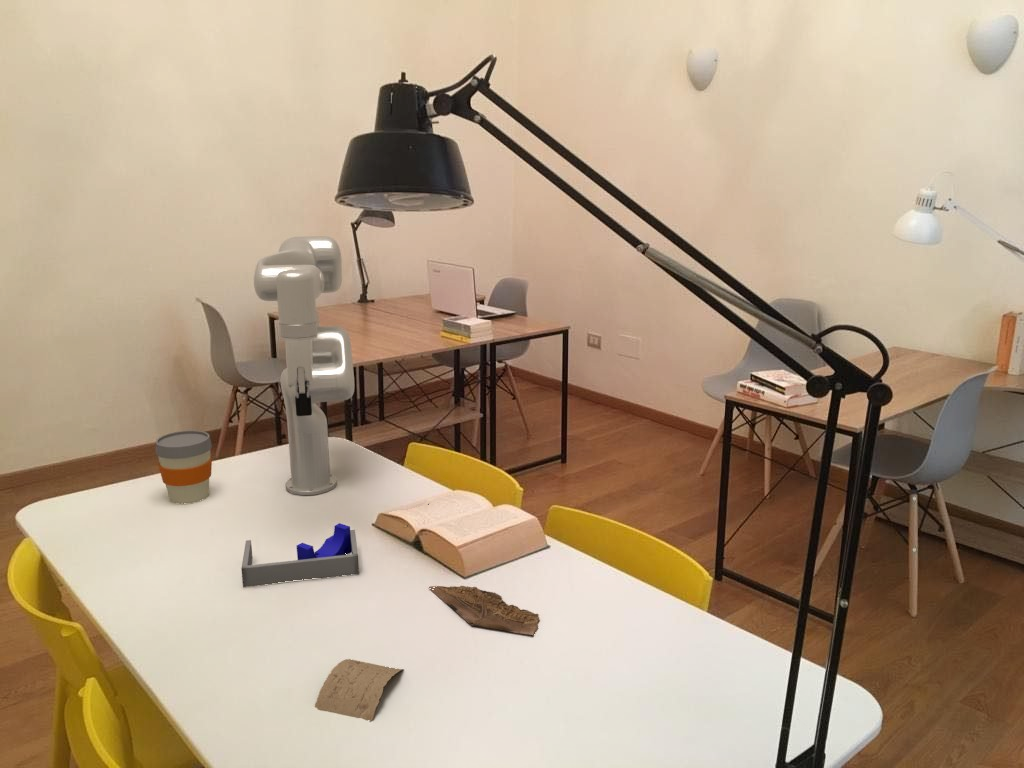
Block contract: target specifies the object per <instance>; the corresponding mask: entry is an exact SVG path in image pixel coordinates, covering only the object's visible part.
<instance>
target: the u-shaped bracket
mask: <svg viewBox="0 0 1024 768" xmlns="http://www.w3.org/2000/svg"><path fill="white" fill-rule="evenodd" d="M350 534H351V552H350V553H349V554H347V555H341V556H331V557H322V558H313V559H303V560H298V559H297V560H296V559H295V560H287V561H277V562H268V563H258V564H252V563H253V547H252V540H251V539H249V540H248V539H246V540H245V543H244V549H243V555H242V562H241V567H240V569H241V579H242V580H241V581H242V587H243V588H249V587H258V585H259V586H266V585H265V584H268V585H273V584H272V583H277V584H279V583H278V582H285V581H293V580H302V579H303V581H305V580H304V579H312V578H321V579H328V578H327V577H330V578H337V577H336V576H339V577H343V576H342V575H347V576H352V575H351V574H356V575H359V574H360V564H359V563H360V562H359V552H358V545H357V543H358V542H357V536H356V529H350ZM312 580H313V579H312Z"/></svg>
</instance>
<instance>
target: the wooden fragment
mask: <svg viewBox="0 0 1024 768" xmlns="http://www.w3.org/2000/svg"><path fill="white" fill-rule="evenodd" d="M436 586H437V587H436ZM428 587H429V588H431V589H429V588H428V589H429V591H431V590H432V589H434V590H432V591H431V593H433V594H434V595H436V596H437V597H438V598H439V599H440V600H441V601H443V602H444V603H445V604H447V605H448V606H449V607H451V608H452V610H454V611H455V612H456V613H457V614H458V615H460V617H461V618H462V619H464V620H465V621H466V622H467V623H468V624H469V625H470V626H471V627H476V626H477V627H482V628H488V629H493V630H499V631H504V632H505V631H506V632H511V633H515V634H519V635H520V634H521V635H523V634H524V635H530V636H531V635H532V637H535V635H536V633H537V632H538V630H539V628H538V627H539V623H540V617H539V613H534V612H532V611H530V610H528V609H521V608H520V607H519V606H517V605H514V604H510V605H509V604H507V602H506V601H504V600H502V596H501V595H500V594H498V593H496V592H493V591H487V590H482V589H480V588H478V587H477V586H473V587H471V586H468V585H467V586H465V585H460V586H454V585H453V586H452V585H451V586H443V585H431V586H428ZM433 587H435V588H433ZM535 632H536V633H535ZM534 634H535V635H534Z"/></svg>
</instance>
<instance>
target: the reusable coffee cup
mask: <svg viewBox="0 0 1024 768" xmlns="http://www.w3.org/2000/svg"><path fill="white" fill-rule="evenodd" d="M210 436H211V435H210V434H209V433H208V432H206V431H203V430H181V431H176V432H171V433H167V434H164V435H161V436H159V437H158V438H156V441H155V455H156V456H157V457H158V464H157V465H158V469H159V472H160V476H161V480H162V482H163V484H164V485H165V487H166V491H167V495H168V498H169V501H170V502H171V501H172V502H174V503H173V504H175V503H183V504H182V505H185V504H184V503H190V504H194V503H193V502H195V503H198V501H199V502H201V501H203V500H202V499H204V500H205V499H207V498H208V497H209V495H210V478H211V477H212V470H213V469H212V465H213V464H212V461H213V457H212V455H211V450H212V447H213V446H212V441H211V437H210ZM207 496H208V497H207ZM206 497H207V498H206ZM200 500H201V501H200ZM172 502H171V503H172Z"/></svg>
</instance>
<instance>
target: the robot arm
mask: <svg viewBox="0 0 1024 768" xmlns="http://www.w3.org/2000/svg"><path fill="white" fill-rule="evenodd" d="M342 261H343V260H342V254H341V249H340V246H339V244H338V242H337V240H335V238H333V237H331V236H327V235H326V236H325V235H324V236H293V237H289V238H287V239H285V240H284V241H283V242H281V244H280V246H279V249H278V252H276V253H273V254H269V255H267V256H264V257H262V258H260V259H259V260H258V261H257V263H256V266H255V270H254V275H253V287H254V290H255V291H254V292H255V294H256V295H257V297H258V298H259V299H260V300H261V301H265V302H277V310H278V311H277V312H278V313H277V314H278V323H279V324H278V326H279V338H280V339H281V340H283V341H284V344H285V346H284V347H285V361H286V368H284V369H283V370H282V372H281V375H280V379H279V381H280V388H281V393H282V397H283V400H284V407H285V414H286V425H287V435H288V436H287V437H288V453H289V464H290V478H288V479H287V481H286V482H285V486H284V487H285V489H286V491H287V492H289V493H291V494H293V495H300V496H313V495H320V494H323V493H327V492H329V491H331V490H333V489H334V488H335V487H336V486H337V484H338V483H337V482H338V480H337V477H336V476H335V475H333V474H331V466H330V465H331V464H330V450H329V434H328V419H327V416H326V414H325V413H324V411H323V409H321V408H320V406H318V405H317V403H318V404H319V403H327V402H340V401H347V400H349V399H351V398H352V397H353V395H354V393H355V375H354V362H353V353H352V343H351V338H350V334H349V333H348V330H346V328H344V327H342V326H340V325H323V326H321V325H320V321H319V320H320V319H319V318H320V317H319V313H318V310H317V306H316V305H317V304H316V299H318V298H319V297H320V296H321V294H331V293H335V292H338V291H339V290H340V288H341V286H342V279H343V277H342V276H343V273H342Z"/></svg>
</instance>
